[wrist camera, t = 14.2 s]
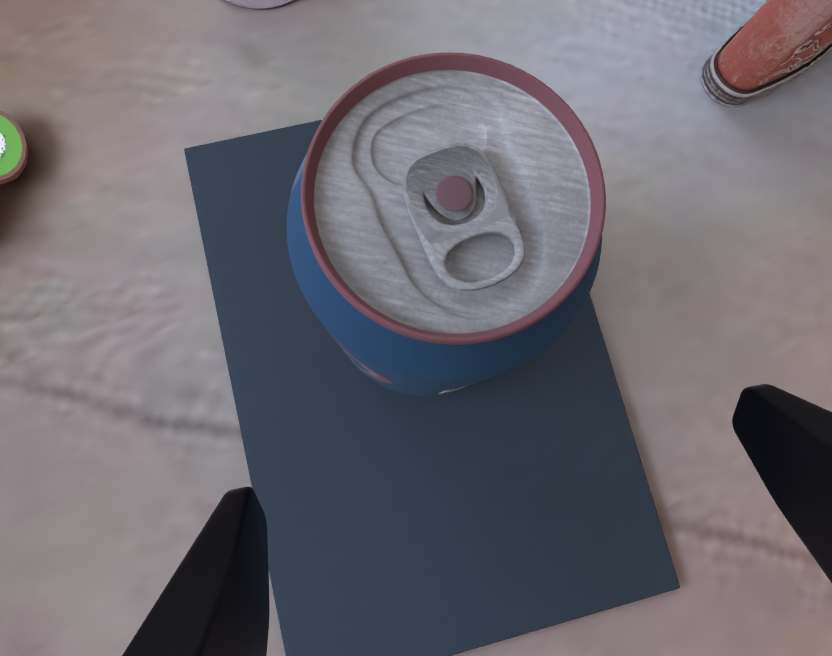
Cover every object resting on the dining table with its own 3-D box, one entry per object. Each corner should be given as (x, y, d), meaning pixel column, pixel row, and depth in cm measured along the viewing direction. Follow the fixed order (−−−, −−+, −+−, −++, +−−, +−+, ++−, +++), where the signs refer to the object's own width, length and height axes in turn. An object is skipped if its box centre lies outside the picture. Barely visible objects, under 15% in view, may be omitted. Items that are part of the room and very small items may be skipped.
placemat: (675, 584, 21) (680, 588, 20) (297, 696, 20) (294, 702, 19) (521, 82, 24) (523, 77, 24) (187, 152, 23) (183, 148, 22)
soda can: (312, 263, 22) (215, 87, 10) (467, 207, 23) (549, -22, 11) (372, 423, 21) (344, 437, 9) (532, 359, 22) (701, 294, 10)
